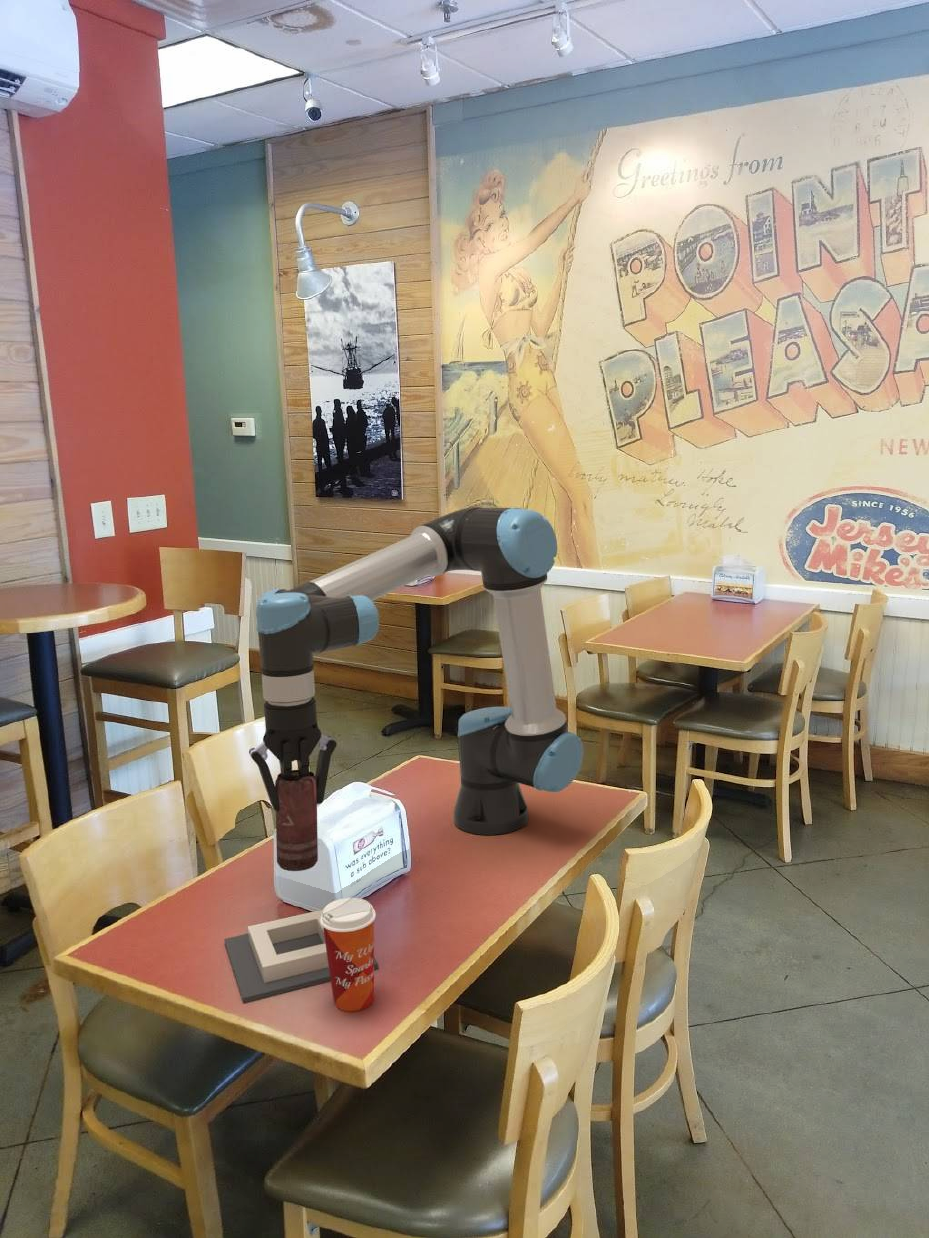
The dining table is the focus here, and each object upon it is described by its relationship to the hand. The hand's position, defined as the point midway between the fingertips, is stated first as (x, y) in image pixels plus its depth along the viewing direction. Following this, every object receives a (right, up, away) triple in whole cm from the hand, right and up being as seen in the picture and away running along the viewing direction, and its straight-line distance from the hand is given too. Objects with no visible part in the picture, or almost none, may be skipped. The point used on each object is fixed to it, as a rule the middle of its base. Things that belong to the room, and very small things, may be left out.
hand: (300, 849), depth 146 cm
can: (0, -2, 0) cm, 2 cm away
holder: (-1, -16, +3) cm, 16 cm away
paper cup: (+9, -19, -9) cm, 23 cm away
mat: (-1, -17, +3) cm, 17 cm away
